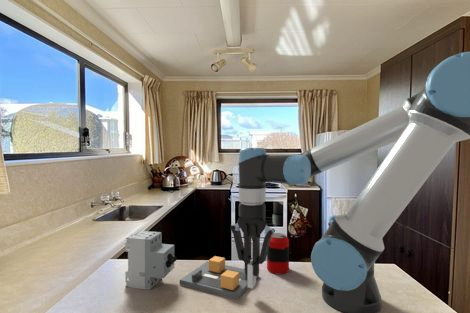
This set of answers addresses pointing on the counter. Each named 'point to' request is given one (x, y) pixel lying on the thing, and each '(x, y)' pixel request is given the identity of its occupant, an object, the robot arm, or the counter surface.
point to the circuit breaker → (147, 259)
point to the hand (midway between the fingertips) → (251, 285)
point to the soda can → (278, 254)
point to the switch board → (215, 281)
